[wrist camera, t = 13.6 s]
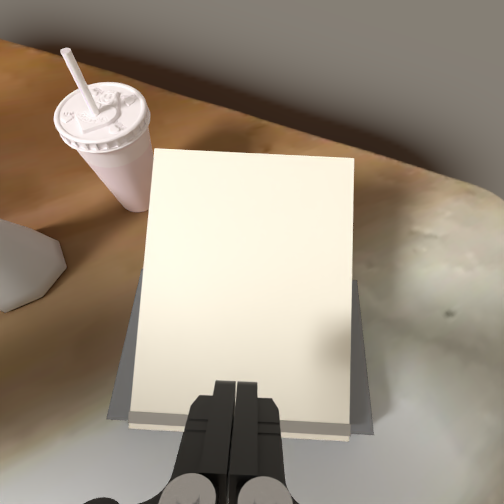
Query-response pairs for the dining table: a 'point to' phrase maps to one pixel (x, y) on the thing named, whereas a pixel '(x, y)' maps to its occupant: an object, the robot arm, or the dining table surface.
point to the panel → (247, 288)
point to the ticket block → (358, 371)
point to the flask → (26, 265)
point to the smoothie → (109, 135)
